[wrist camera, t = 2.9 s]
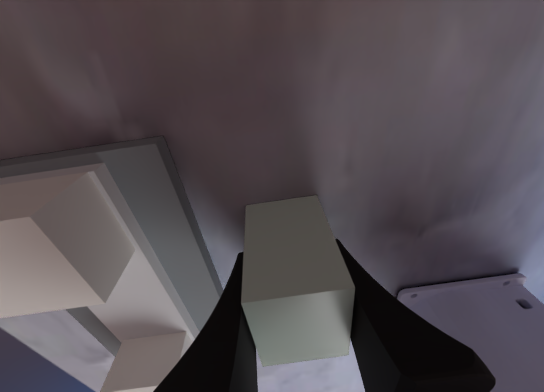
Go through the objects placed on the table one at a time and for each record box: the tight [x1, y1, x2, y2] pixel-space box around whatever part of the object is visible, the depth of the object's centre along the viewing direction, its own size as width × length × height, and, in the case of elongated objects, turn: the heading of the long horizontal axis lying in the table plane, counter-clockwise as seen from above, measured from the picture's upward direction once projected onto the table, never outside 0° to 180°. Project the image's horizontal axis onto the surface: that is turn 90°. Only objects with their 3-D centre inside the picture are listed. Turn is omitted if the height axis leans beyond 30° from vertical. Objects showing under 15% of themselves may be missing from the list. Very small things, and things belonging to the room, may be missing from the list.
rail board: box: [0, 136, 223, 392], centre depth 14 cm, size 10×18×5 cm, turn 7°
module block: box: [241, 195, 355, 367], centre depth 12 cm, size 4×5×6 cm
